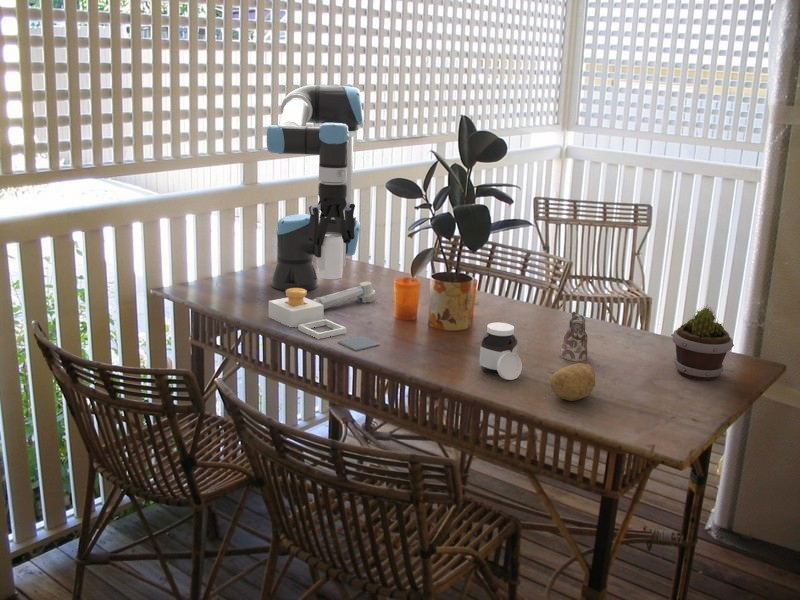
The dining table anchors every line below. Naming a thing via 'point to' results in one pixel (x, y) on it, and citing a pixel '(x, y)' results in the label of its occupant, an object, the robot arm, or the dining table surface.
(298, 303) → the plunger
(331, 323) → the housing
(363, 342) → the mat
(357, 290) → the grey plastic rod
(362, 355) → the dining table surface
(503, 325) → the spread jar
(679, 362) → the flowerpot
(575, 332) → the figurine
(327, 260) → the can
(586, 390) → the potato
